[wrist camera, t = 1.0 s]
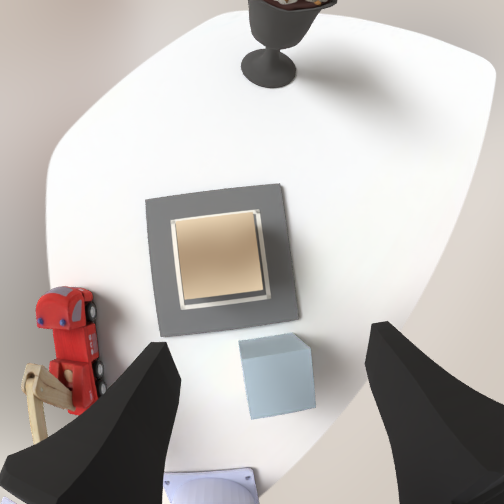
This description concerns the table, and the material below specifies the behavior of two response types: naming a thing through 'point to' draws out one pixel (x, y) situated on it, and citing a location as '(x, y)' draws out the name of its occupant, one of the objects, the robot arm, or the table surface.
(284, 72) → the sundae
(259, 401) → the bluegrey block
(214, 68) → the table surface
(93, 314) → the toy fire truck
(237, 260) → the beech block
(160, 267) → the grey square pad
